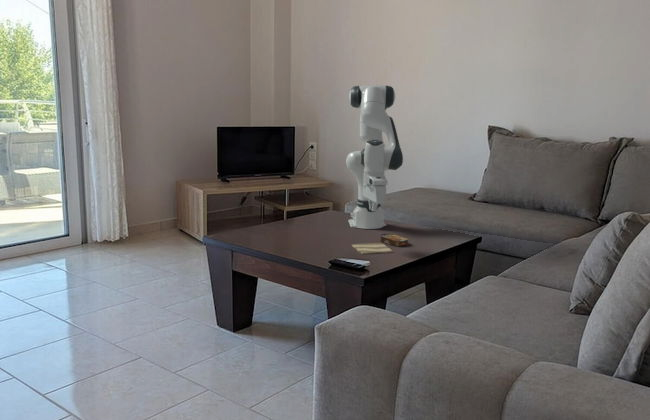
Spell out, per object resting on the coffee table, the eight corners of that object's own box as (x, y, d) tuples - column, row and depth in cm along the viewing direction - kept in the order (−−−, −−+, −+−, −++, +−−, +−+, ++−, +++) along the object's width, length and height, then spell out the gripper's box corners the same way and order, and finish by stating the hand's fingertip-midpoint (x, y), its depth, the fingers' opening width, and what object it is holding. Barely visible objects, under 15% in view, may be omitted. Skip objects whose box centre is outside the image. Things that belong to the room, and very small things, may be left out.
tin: (376, 234, 273) (390, 231, 277) (376, 241, 274) (390, 238, 278) (397, 241, 260) (411, 238, 265) (397, 248, 261) (412, 244, 265)
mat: (351, 245, 263) (351, 244, 263) (381, 244, 267) (381, 242, 267) (361, 254, 249) (361, 252, 249) (393, 252, 252) (393, 251, 252)
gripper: (359, 175, 261) (358, 206, 264) (374, 182, 242) (373, 215, 244) (373, 175, 263) (372, 206, 265) (389, 181, 243) (387, 214, 246)
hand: (373, 210), depth 255 cm, fingers closed
